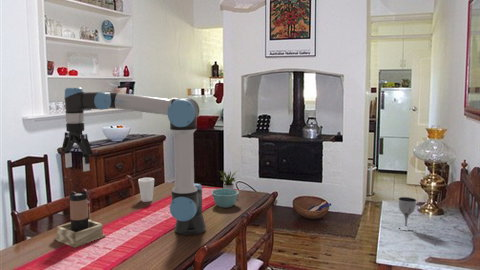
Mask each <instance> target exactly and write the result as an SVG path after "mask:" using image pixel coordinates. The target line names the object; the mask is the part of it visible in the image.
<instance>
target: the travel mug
mask: <svg viewBox="0 0 480 270" xmlns="http://www.w3.org/2000/svg"><path fill="white" fill-rule="evenodd" d="M87 200H88V192H86V191H78V192H71V193H69V212H70V213H69V214H70V216H69V218H70V222H71V230H72V231H74V232H78V231H81V230H84V229H87V228H88V204H87Z"/></svg>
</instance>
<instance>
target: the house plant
mask: <svg viewBox="0 0 480 270" xmlns="http://www.w3.org/2000/svg"><path fill="white" fill-rule="evenodd" d="M218 172H220V173H221V176H222V177H220V178H219V179H220V180H222V181H223V182H222V183H223V184H222V187H223V188H226V189H234V187H235V184H234V183H235V182H236V177H234V176H235V175H236V174H237V172H238V171H237V170H236V171H234V172H233V173H232V171H231V170H230V168H229V170H228V173H226V171H225V170H222V172H221V171H219V170H218ZM233 182H234V183H233Z"/></svg>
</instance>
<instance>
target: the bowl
mask: <svg viewBox="0 0 480 270" xmlns="http://www.w3.org/2000/svg"><path fill="white" fill-rule="evenodd" d="M211 196H212V197H213V200H214V203H215V205H216V206H217V207H219V208H223V209H225V208H231V207H233V206H234V205H235V204H236V201H237V199H238V196H239V190H237V189H234V188H233V189H226V188H224V187H223V188H217V189H216V188H215V189H214V190H212V191H211Z"/></svg>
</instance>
